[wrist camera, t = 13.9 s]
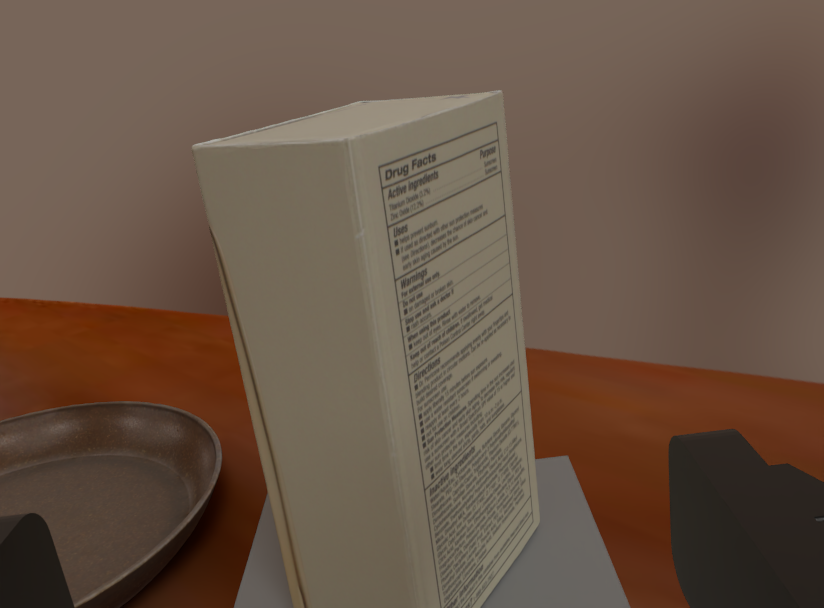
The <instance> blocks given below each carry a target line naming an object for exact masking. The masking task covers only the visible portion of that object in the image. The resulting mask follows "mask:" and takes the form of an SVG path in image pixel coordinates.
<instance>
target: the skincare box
mask: <svg viewBox="0 0 824 608" xmlns="http://www.w3.org/2000/svg"><path fill="white" fill-rule="evenodd" d="M192 153H193V157H194V161H195V166H196V172H197V176H198V180H199V184H200V189H201V193H202V197H203V202H204V206H205V210H206V214H207V218H208V223H209V228H210V233H211V237H212V242H213V247H214V251H215V256H216V260H217V265H218V270H219V274H220V279H221V284H222V288H223V292H224V297H225V301H226V306H227V310H228V315H229V320H230V325H231V329H232V333H233V336H234V342H235V347H236V351H237V354H238V360H239V364H240V369H241V373H242V378H243V382H244V386H245V391H246V395H247V400H248V404H249V409H250V414H251V418H252V423H253V428H254V432H255V436H256V441H257V445H258V450H259V454H260V459H261V463H262V467H263V472H264V476H265V481H266V485H267V490H268V495H269V499H270V504H271V508H272V513H273V517H274V522H275V526H276V531H277V536H278V540H279V544H280V548H281V553H282V558H283V562H284V567H285V572H286V576H287V581H288V585H289V590H290V594H291V598H292V603H293V607H294V608H480V607H481V606H482V605H483V603H484V602H485V600H486V599H487V597H488V596H489V595H490V593H491V592H492V590H493V589H494V588H495V586H496V585H497V584H498V582H499V581H500V580H501V578H502V577H503V576H504V574H505V573H506V572H507V570H508V569H509V568H510V566H511V565H512V563H513V562H514V560H515V559H516V558H517V557H518V555H519V554H520V552H521V551H522V549H523V548H524V546H525V545H526V543H527V541H528V540H529V538H530V537H531V536H532V534H533V533H534V531H535V530H536V528H537V527H538V525H539V523H540V512H539V501H538V489H537V477H536V466H535V455H534V443H533V433H532V422H531V410H530V399H529V386H528V374H527V364H526V353H525V341H524V332H523V320H522V312H521V298H520V297H521V296H520V287H519V286H520V285H519V274H518V263H517V252H516V251H517V250H516V239H515V228H514V218H513V206H512V195H511V183H510V173H509V160H508V148H507V137H506V126H505V114H504V102H503V93H502V91H501V90H498V91H493V92H486V93H474V94H462V95H449V96H437V97H424V98H408V99H394V100H380V101H360V102H356V103H352V104H350V105H347V106H343V107H339V108H335V109H331V110H328V111H324V112H320V113H316V114H314V115H310V116H306V117H302V118H298V119H294V120H289V121H287V122H283V123H279V124H275V125H271V126H268V127H264V128H261V129H257V130H252V131H248V132H244V133H241V134H237V135H233V136H230V137H226V138H221V139H214V140H211V141H207V142H204V143H198V144H195V145H193V146H192Z"/></svg>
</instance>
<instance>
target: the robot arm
mask: <svg viewBox="0 0 824 608" xmlns="http://www.w3.org/2000/svg"><path fill="white" fill-rule="evenodd" d="M669 486H670V519H671V546H672V554H673V560H674V565H675V569H676V573H677V577H678V580H679V583H680V586H681V589H682V591H683V594H684V596H685V598H686V600H687V602H688V604H689V606H690V608H824V482H822V481H820V480H818V479H816V478H814V477H812V476H810V475H809V474H807V473H805V472H803V471H801V470H799V469H797V468H795V467H793V466H791V465H790V464H788V463H787V464H779V465H771V466H768V465H767V463H766V462H765V461H764V460H763V459H762V458H761V457H760V455H759V454H758V453H757V452H756V451H755V450H754V449H753V447H752V446H751V445H750V444H749V443H748V442H747V441H746V439H745V438H744V437H743V436H742V435H741V434H740V433H739V432H738V431H737V430H735V429H727V430H719V431H711V432H703V433H695V434H687V435H678V436H673V437H672V438H671V441H670V444H669ZM0 608H75V607H74V604H73V601H72V598H71V595H70V592H69V589H68V586H67V582H66V579H65V576H64V573H63V570H62V567H61V564H60V561H59V558H58V555H57V552H56V549H55V545H54V542H53V539H52V536H51V533H50V530H49V528H48V525H47V523H46V522H45V520H44V519H43V518H42V517H41V516H40V515H38V514H36V513H27V514H19V515H11V516H2V517H0Z"/></svg>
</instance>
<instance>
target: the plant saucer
mask: <svg viewBox="0 0 824 608" xmlns="http://www.w3.org/2000/svg"><path fill="white" fill-rule="evenodd" d="M221 463H222V450H221V445H220V442H219V439H218V437H217V435H216V434H215V432H214V431H213V429H212V428H211V427H210V426H209V425H208V424H207V423H206V422H204V421H203V420H202V419H200V418H199V417H197V416H195V415H193V414H191V413H189V412H187V411H184V410H181V409H178V408H175V407H171V406H167V405H162V404H152V403H147V402H128V401H119V402H99V403H89V404H79V405H71V406H66V407H59V408H53V409H48V410H43V411H39V412H33V413H29V414H25V415H21V416H17V417H13V418H9V419H6V420H2V421H0V517H2V516H11V515H19V514H27V513H36V514H38V515H40V516H41V517H42V518H43V519H44V520H45V522H46V523H47V525H48V528H49V530H50V533H51V536H52V539H53V542H54V545H55V549H56V552H57V555H58V558H59V561H60V564H61V567H62V570H63V573H64V576H65V579H66V582H67V586H68V589H69V592H70V595H71V598H72V601H73V604H74V607H75V608H120V607H121V606H122V605H124V604H125V603H126V602H128V601H129V600H130V599H132V598H133V597H134V596H135V595H136V594H137V593H139V592H140V591H141V590H142V589H143V588H144V587H145V586H146V585H147V584H148V583H149V582H150V581H151V580H152V579H153V578H154V577H155V576H156V575H157V574H158V573H159V572H160V571H161V570H162V569H163V568H164V567H165V566H166V565H167V564H168V563H169V561H170V560H171V559H172V558H173V557H174V556H175V555H176V554H177V552H178V551H179V550H180V548H181V547H182V546H183V544H184V543H185V542H186V540H187V539H188V538H189V536H190V535H191V533H192V532H193V530H194V529H195V527H196V526H197V524H198V522H199V520H200V519H201V517H202V515H203V513H204V511H205V509H206V507H207V505H208V503H209V500H210V498H211V496H212V493H213V491H214V488H215V485H216V482H217V479H218V476H219V473H220V469H221Z"/></svg>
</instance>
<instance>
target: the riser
mask: <svg viewBox="0 0 824 608" xmlns="http://www.w3.org/2000/svg"><path fill="white" fill-rule="evenodd" d="M535 466H536V477H537V489H538V501H539V512H540V523H539V525H538V527H537V528H536V530H535V531H534V533H533V534H532V536H531V537H530V538H529V540H528V541H527V543H526V545H525V546H524V548H523V549H522V551H521V552H520V554H519V555H518V557H517V558H516V559H515V560H514V562H513V563H512V565H511V566H510V568H509V569H508V570H507V572H506V573H505V574H504V576H503V577H502V578H501V580H500V581H499V582H498V584H497V585H496V586H495V588H494V589H493V590H492V592H491V593H490V595H489V596H488V597H487V599H486V600H485V602H484V603H483V605H482V606H481V607H480V608H630V606H629V603H628V601H627V598H626V596H625V594H624V591H623V589H622V586H621V584H620V581H619V579H618V577H617V574H616V572H615V569H614V567H613V564H612V562H611V560H610V557H609V555H608V552H607V550H606V547H605V545H604V543H603V540H602V538H601V535H600V533H599V530H598V528H597V526H596V523H595V521H594V518H593V516H592V513H591V511H590V509H589V506H588V504H587V501H586V499H585V496H584V494H583V492H582V489H581V487H580V484H579V482H578V479H577V477H576V475H575V472H574V470H573V467H572V465H571V462H570V460H569V458H568V456H560V457H552V458H544V459H536V460H535ZM234 608H294V607H293V603H292V598H291V594H290V590H289V585H288V581H287V576H286V572H285V567H284V562H283V558H282V553H281V548H280V544H279V540H278V536H277V531H276V526H275V522H274V517H273V513H272V508H271V504H270V499H269V495H268V493H267V497H266V500H265V503H264V507H263V510H262V514H261V517H260V520H259V524H258V527H257V531H256V534H255V537H254V541H253V544H252V548H251V551H250V554H249V558H248V561H247V565H246V568H245V571H244V575H243V578H242V582H241V585H240V588H239V592H238V595H237V599H236V602H235V605H234Z"/></svg>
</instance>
